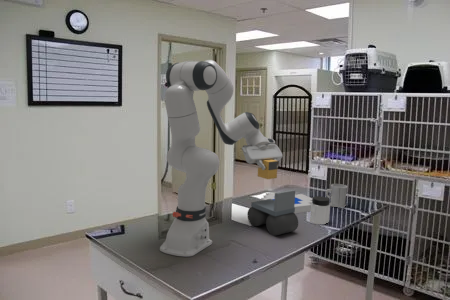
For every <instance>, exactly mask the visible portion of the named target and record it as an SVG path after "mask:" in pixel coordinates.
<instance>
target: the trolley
mask: <svg viewBox="0 0 450 300" xmlns="http://www.w3.org/2000/svg"><path fill="white" fill-rule="evenodd" d="M295 194H296V190H295V189H290V190H289V189H288V190H285V191H284V190H283V191H277V193H275V199H274V200H272V199H267V200H262V201H261V200H257V201H253V202H251V203H250V204H251V206H250V207H249V208H248V210H247V219H248V222H249V224H250V225H251V226H253V227H258V226H263V225H266V230H267V231H268V232H269V234H270V235H271V236H276V237H277V236H280V235H283V234H287V233H290V232H294V231H296V230H297V229H298V228H299V227H298V226H299V219H298V216H297V214H296V213H294V212H295V208H294V204H295Z"/></svg>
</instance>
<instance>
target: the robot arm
mask: <svg viewBox="0 0 450 300" xmlns="http://www.w3.org/2000/svg"><path fill="white" fill-rule="evenodd" d="M165 80H166V86H167V89H166V90H165V93H164V98H165V101H164V103H165V108H166V109H165V110H166V115H167V119H168V124H169V128H170V132H171V133H170V134H171V146H170V148H169V149H168V151H167V154H166V160H167V161H166V162H167V164H168V165H169V166H170V167H172V168H173V169H175V170H176V171H178V172H182V173H185V180H184V182H183V183H182V184H180V185H179V187H178V189H177V205H176V209H175V211H172V212H173V213H172V217H173V218H174V219H173V221H172V223H171V225H170V227H169V229H168V231H167V233H166V239H165V240H164V241H163V243H162V244H161V245H160V246H159V251H160V252H161V253H164V254H167V255H170V256H171V255H172V256H177V257H187V258H188V257H194V256H195V255H197V254H199V253H200V252H201V251H203V250H205V249H206V248H207V247H209V246H210V245H212V244H213V240H212V239H210V227H209V226H210V225H209V222H208V220H207V219H206V216H207V215H206V214H207V207H206V194H207V193H206V192H207V186H208V184H209V181H210V180H211V178H212V177H213V176H214V175H215V174H217V172H218V171H219V168H220V165H221V164H220V158H219V156H218V154H216V153H215V152H213V151H212V150H210V149H208V148H203V147H198V146H197V145H196V136H198V134H199V133H200V131H201V126H200V123H199V122H200V121H199V117H198V112H197V108H196V107H197V106H196V103H195V100H194V93H195V92H196V91H197V92H198V91H205V92H206V93H207V96H208V98H207V101H206V106H207V109H208V112H209V114H210V116H211V118H212V121H213V122H214V124H215V127H216V128H217V131H218V135H219V137H220V138H219V139H220V140H221V141H222V142H223V143H224V144H225V145H229V146H233V145H234V144H235V143H237V142H238V141H239V140H241V139H244V140H245V142H246V143H245V144H244V145H242V146H241V150H242V154H243V156H244V160H245V162H246V163H247V164H249V165H251V164H256V165H257V166H259V168H262V170H266V169H267V167H266V165H264V164H263V160H271V159H272V160H276V161H278V162H279V161H280V160H281V159H282V158H283V156H284V155H283V153H282V151H281V149H280V147H279V146H278V145H277V144H276V141H275V140H274V138H273V139H272V138H269V137H266V136H264V135H263V133H262V132H261V129H260V123H259V121H258V120H257V118H256V116H255V115H254V114H253V113H252V112H248V111H246V112H242V113H240V114H239V115H238V116H236V117H235V118H233V119H231V120H230V121H227V122H226V123H225V122H224V120H223V118H222V116H221V112H222V111H223V109H224V108H225V107H226V105H228V103H229V102H230V101H231V99H232V97H233V95H234V85H233V83H232V81H231V79H230V77H229V76H228V74H227V73H226V72H225V70H224V69H223V68H222V67H221V66H220V65H219V64H218V63H217V62H216V61H215V60H213V59H206V60H204V61H203V60H201V61H192V60H188V61H183V62H182V61H181V62H175V63H173V64H171V65H169V66H168V67H167V70H166V73H165ZM278 168H279V165H277V169H278Z"/></svg>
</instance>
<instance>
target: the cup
mask: <svg viewBox="0 0 450 300" xmlns="http://www.w3.org/2000/svg"><path fill="white" fill-rule="evenodd" d="M347 191H348V185H346V184H341V183H331V184H330V188H327V189H326V190H325V197H327V198H329V199H330V203H329V204H330V207H331V208H334V207H345V206H346V207H347V204H346V199H347ZM329 192H330V195H329ZM346 207H345V208H346Z"/></svg>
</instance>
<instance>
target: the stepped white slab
mask: <svg viewBox="0 0 450 300" xmlns="http://www.w3.org/2000/svg"><path fill="white" fill-rule="evenodd" d="M277 192H278V191H277ZM277 192H267V193H265V195H263V197H261V198H260V201H262V200H267V199H272V200H274V199H275V193H277ZM312 198H313V197H310V196H307V195H305V194H303V193H299V194H296V193H295V204H294V208H295V212H294V213H295V214H301V213H311V212H310V211H311V203H312Z"/></svg>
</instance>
